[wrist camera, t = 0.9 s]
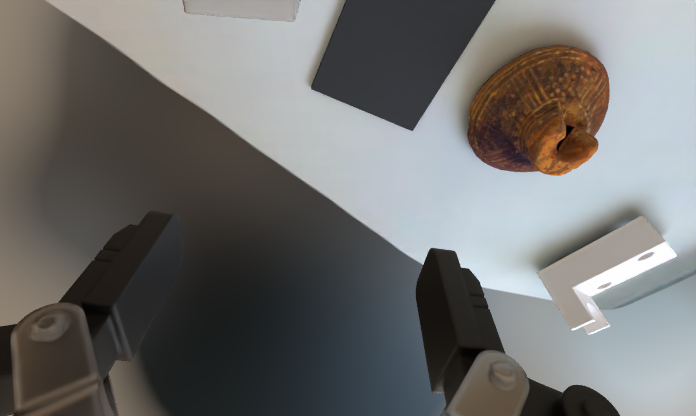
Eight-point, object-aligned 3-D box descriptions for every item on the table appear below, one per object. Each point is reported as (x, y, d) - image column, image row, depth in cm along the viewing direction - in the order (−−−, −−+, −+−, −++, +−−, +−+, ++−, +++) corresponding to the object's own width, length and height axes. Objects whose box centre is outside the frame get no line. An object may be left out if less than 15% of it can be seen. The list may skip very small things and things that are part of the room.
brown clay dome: (439, 111, 34) (459, 156, 28) (570, 8, 28) (626, 39, 23) (503, 184, 39) (530, 233, 34) (622, 110, 34) (678, 154, 28)
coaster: (311, 87, 32) (310, 89, 32) (375, -73, 25) (375, -73, 24) (411, 129, 35) (412, 131, 34) (495, -4, 28) (497, -2, 27)
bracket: (556, 282, 52) (590, 334, 48) (536, 272, 48) (570, 329, 43) (655, 231, 46) (704, 286, 41) (642, 215, 41) (695, 274, 37)
